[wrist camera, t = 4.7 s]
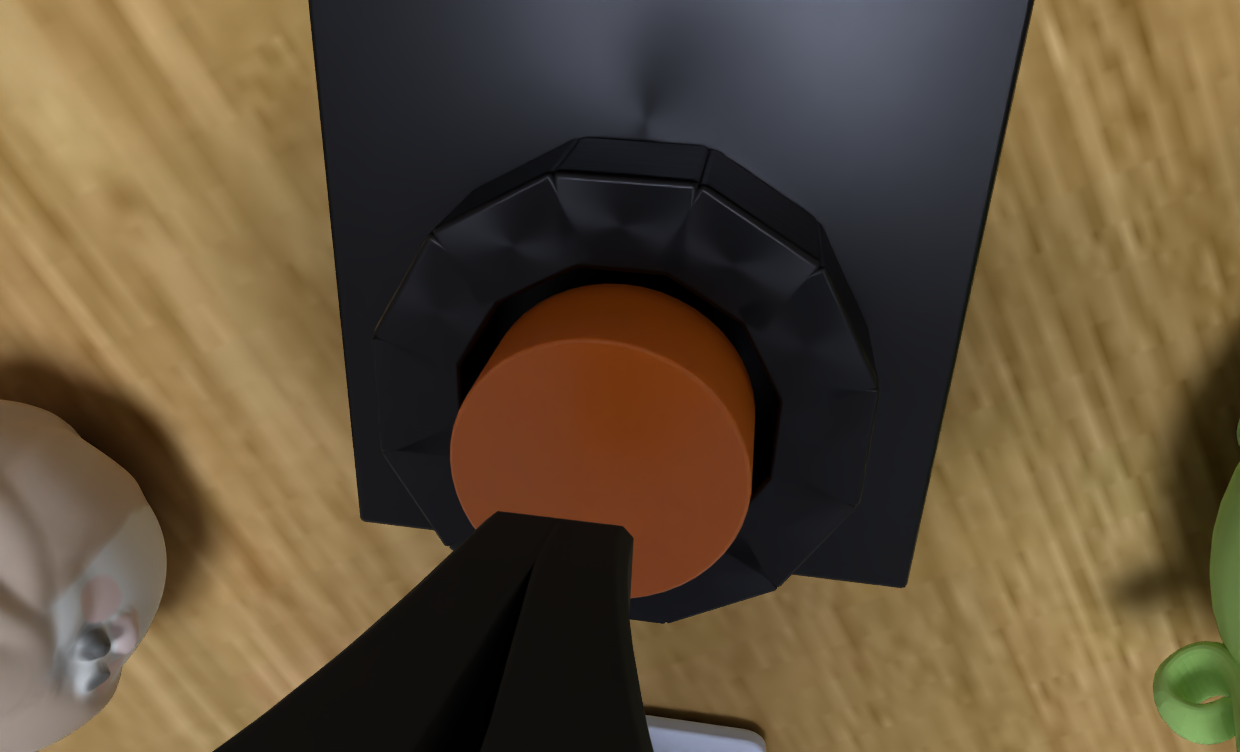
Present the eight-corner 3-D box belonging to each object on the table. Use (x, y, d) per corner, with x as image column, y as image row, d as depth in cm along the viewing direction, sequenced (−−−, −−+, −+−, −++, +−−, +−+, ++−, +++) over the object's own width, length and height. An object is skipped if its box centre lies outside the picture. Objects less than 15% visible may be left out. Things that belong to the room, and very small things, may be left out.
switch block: (887, 481, 18) (921, 673, 14) (421, 429, 19) (312, 592, 15) (1078, -494, 12) (1256, -728, 7) (363, -493, 13) (140, -697, 8)
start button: (741, 535, 13) (736, 618, 12) (490, 505, 14) (454, 581, 12) (769, 295, 12) (768, 356, 10) (484, 269, 12) (441, 324, 11)
